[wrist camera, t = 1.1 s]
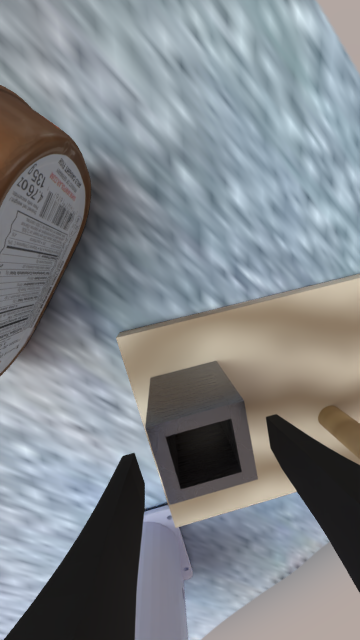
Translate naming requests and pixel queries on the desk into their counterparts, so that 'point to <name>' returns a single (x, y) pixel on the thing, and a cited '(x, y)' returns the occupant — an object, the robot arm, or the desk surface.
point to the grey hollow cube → (198, 432)
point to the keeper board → (265, 375)
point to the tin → (35, 217)
